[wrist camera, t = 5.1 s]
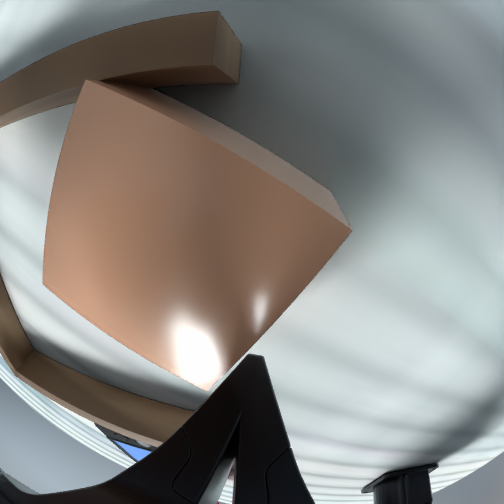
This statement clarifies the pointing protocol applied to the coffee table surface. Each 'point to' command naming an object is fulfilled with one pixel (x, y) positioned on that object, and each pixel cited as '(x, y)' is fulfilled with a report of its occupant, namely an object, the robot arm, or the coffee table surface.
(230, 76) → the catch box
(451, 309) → the coffee table surface
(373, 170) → the coffee table surface
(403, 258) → the coffee table surface
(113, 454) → the coffee table surface
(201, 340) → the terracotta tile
